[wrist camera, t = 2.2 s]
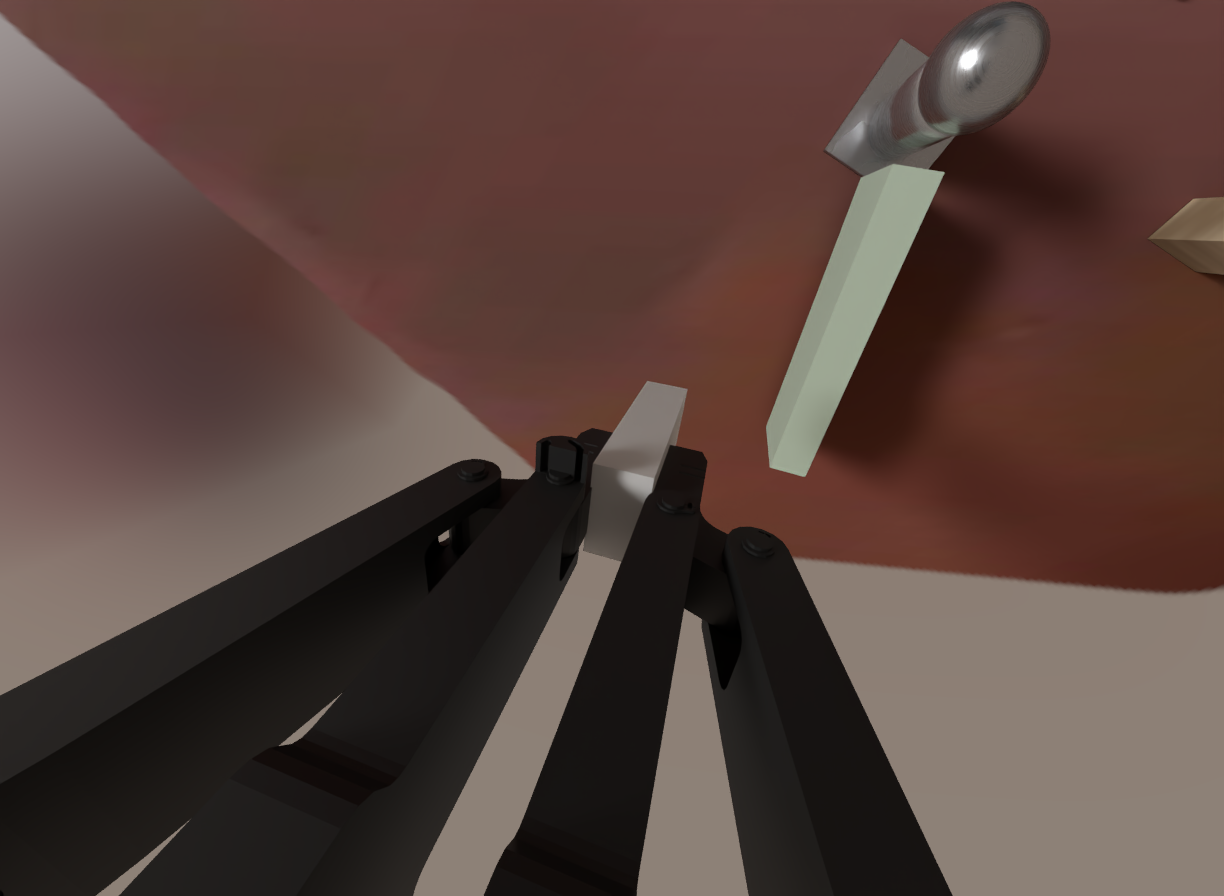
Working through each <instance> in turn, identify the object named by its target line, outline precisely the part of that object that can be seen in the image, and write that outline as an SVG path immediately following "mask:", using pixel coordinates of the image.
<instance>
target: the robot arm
mask: <svg viewBox="0 0 1224 896" xmlns="http://www.w3.org/2000/svg"><path fill="white" fill-rule="evenodd" d="M687 390H688V389H684V388H679V387H674V386H669V385H664V384H660V383H655V382H650V381H647V382H646V384H645V385H644V387H643V388H642V390H641V391H640V393H639V394H638V396H637V397H636V399H635V400H634V402H633V403H632V405H631V406H630V408H629V409H628V411H627V413H626V414H625V416H624V417H623V419H622V420H621V422H620V423H619V425H618V426H617V428H616V429H615V431H614V432H613V433H612V432H607V431H603V430H598V429H594V428H591V429H589V430H587V431H585V432H582V433H581V434H580V435H579V436H578V437H577V438H573V437H567V436H550V437H546V438H542V439H541V440H539V441H538V442H537V443H536V468H535V472H534V473H533V474H532V476H531V477H530V478H529V479H523V480H518V479H501V470H500V468H499V467H498V466H497V465H496V464H494V463H493V462H489V461H486V460H481V459H479V460H478V459H471V460H463V461H460V462H457V463H455V464H452V465H451V466H448V467H446V468H444V469H443V470H441V471H439V472H437V473H435V474H433V475H431V476H429V477H427V478H425V479H423V480H421V481H419V482H417V483H415V484H413V485H411V486H409V487H407V488H405V489H404V490H401V491H400V492H398V493H396V494H394V495H392V496H390V497H388V498H386V499H384V500H382V501H380V502H378V503H376V504H374V505H372V506H370V507H368V508H367V509H364V510H362V511H360V512H358V513H357V514H355V515H353V516H351V517H349V518H347V519H345V520H343V521H341V522H339V523H337V524H335V525H333V526H331V527H329V528H327V529H325V530H323V531H321V532H319V533H318V534H315V535H313V536H312V537H310V538H308V539H306V540H304V541H302V542H300V543H298V544H296V545H294V546H292V547H290V548H288V549H286V550H284V551H282V552H280V553H278V554H276V555H274V556H272V557H270V558H268V559H267V560H265V561H263V562H261V563H259V564H257V565H255V566H253V567H251V568H249V569H247V570H245V571H243V572H241V573H239V574H237V575H235V576H234V577H231V578H229V579H227V580H226V581H223V582H221V583H220V584H218V585H216V586H214V587H212V588H210V589H208V590H206V591H204V592H202V593H200V594H198V595H196V596H194V597H192V598H190V599H188V600H186V601H184V602H182V603H181V604H178V605H176V606H175V607H173V608H171V609H169V610H167V611H165V612H163V613H161V614H159V615H157V616H155V617H153V618H151V619H149V620H147V621H145V622H143V623H141V624H139V625H137V626H136V627H133V628H131V629H130V630H128V631H126V632H124V633H122V634H120V635H118V636H116V637H114V638H112V639H110V640H108V641H106V642H104V643H102V644H100V645H98V646H96V647H95V648H93V649H90V650H88V651H87V652H85V653H83V654H81V655H79V656H77V657H75V658H73V659H71V660H69V661H67V662H65V663H63V664H61V665H59V666H57V667H55V668H54V669H51V670H49V671H47V672H45V673H43V674H42V675H40V676H38V677H36V678H34V679H32V680H30V681H28V682H26V683H24V684H22V685H20V686H18V687H16V688H14V689H12V690H10V691H8V692H6V693H4V694H2V695H0V896H96V895H97V894H98V893H99V892H101V891H102V890H104V889H105V888H106V887H107V886H109V885H110V884H111V883H112V882H113V881H115V880H116V879H118V878H119V877H120V876H121V875H123V874H124V873H125V872H126V871H128V870H129V869H130V868H131V867H133V866H134V865H135V864H137V863H138V862H139V861H140V860H142V859H143V858H144V857H145V856H147V855H148V854H149V853H150V852H151V851H153V850H154V849H155V848H156V847H157V846H159V845H160V844H161V843H162V842H163V841H165V840H166V839H167V838H168V837H169V836H171V835H172V834H173V833H174V832H175V831H177V830H178V829H179V828H180V827H181V826H183V825H184V824H185V823H186V822H187V821H189V820H190V819H191V818H192V819H191V820H190V821H189V822H188V823H187V824H186V825H185V826H184V827H183V828H182V829H181V830H180V831H179V832H178V833H177V834H176V836H175V837H174V838H173V839H172V840H171V841H170V842H169V843H168V844H167V845H166V846H165V847H164V848H163V849H162V850H161V851H160V853H159V854H158V855H157V856H156V857H155V858H154V859H153V860H152V861H151V862H150V863H149V864H148V865H147V866H146V867H145V868H144V870H143V871H142V872H141V873H140V874H139V875H138V876H137V877H136V878H135V879H134V880H133V881H132V883H131V884H129V885H128V887H127V888H126V889H125V890H124V891H123V892H122V893H121V894H120V895H119V896H413V894H414V890H415V886H416V884H417V882H418V878H419V876H420V874H421V872H422V869H423V867H424V865H425V863H426V861H427V859H428V857H429V855H430V853H431V851H432V849H433V847H434V845H435V843H436V841H437V839H438V837H439V835H440V833H441V831H442V829H443V827H444V825H445V823H446V821H447V819H448V817H449V816H450V813H451V811H452V810H453V808H454V806H455V804H456V802H457V800H458V798H459V796H460V794H461V792H462V790H463V788H464V786H465V784H466V782H467V780H468V778H469V776H470V774H471V772H472V770H473V768H474V766H475V764H476V762H477V760H478V758H479V756H480V754H481V752H482V750H483V748H484V746H485V744H486V742H487V740H488V738H489V736H490V734H491V732H492V730H493V728H494V726H495V724H496V723H497V721H498V718H499V717H500V715H501V712H502V711H503V709H504V707H505V705H506V703H507V701H508V699H509V697H510V695H511V693H512V691H513V689H514V687H515V685H516V683H517V681H518V679H519V677H520V675H521V673H522V671H523V669H524V667H525V665H526V663H527V661H528V659H529V657H530V655H531V653H532V651H533V649H534V647H535V645H536V643H537V641H538V639H539V637H540V635H541V633H542V631H543V629H544V628H545V626H546V624H547V622H548V620H549V618H550V616H551V614H552V612H553V610H554V608H555V606H556V604H557V601H558V600H559V598H560V596H561V594H562V592H563V590H564V588H565V586H566V584H567V582H568V580H569V578H570V576H571V574H572V572H573V570H574V568H575V566H576V564H577V560H578V552H579V546H580V545H581V543H582V541H583V539H584V537H585V540H584V548H583V551H586V552H589V553H593V554H596V555H600V556H604V557H607V558H610V559H614V560H617V561H621V564H620V567H619V570H618V572H617V575H616V578H615V580H614V583H613V586H612V588H611V591H610V593H609V596H608V598H607V601H606V604H605V606H604V609H603V611H602V614H601V617H600V620H599V622H598V625H597V627H596V630H595V632H594V635H593V638H592V640H591V643H590V645H589V648H588V651H587V654H586V656H585V658H584V661H583V664H582V666H581V669H580V672H579V674H578V677H577V679H576V682H575V685H574V687H573V690H572V693H571V695H570V698H569V700H568V703H567V706H566V708H565V711H564V714H563V716H562V719H561V721H560V724H559V727H558V729H557V732H556V735H555V737H554V739H553V742H552V745H551V747H550V750H549V753H548V755H547V758H546V760H545V763H544V766H543V768H542V771H541V773H540V776H539V779H538V781H537V784H536V787H535V789H534V792H533V795H532V797H531V800H530V802H529V805H528V808H527V810H526V813H525V815H524V818H523V820H522V823H521V825H520V828H519V829H518V832H517V833H516V835H515V837H514V839H513V840H512V841H511V842H510V844H509V845H508V846H507V847H506V848H505V850H504V852H503V854H502V856H501V858H500V860H499V862H498V864H497V865H496V868H495V870H494V872H493V875H492V877H491V879H490V882H489V884H488V886H487V889H486V891H485V894H484V896H637V884H638V876H639V869H640V864H641V857H642V852H643V846H644V840H645V834H646V828H647V823H648V817H649V811H650V805H651V799H652V793H653V787H654V782H655V776H656V770H657V764H658V758H659V752H660V746H661V740H662V734H663V729H664V723H665V717H666V711H667V705H668V699H669V694H670V688H671V681H672V675H673V670H674V664H675V658H676V653H677V647H678V640H679V635H680V629H681V623H682V617H683V612H684V609H686V610H688V611H690V612H691V613H693V614H694V615H696V616H698V617H699V618H701V619H702V632H703V638H704V643H705V649H706V655H707V661H708V666H709V671H710V678H711V683H712V689H713V695H714V700H715V706H716V712H717V717H718V723H719V729H720V734H721V740H722V746H723V752H724V757H725V763H726V768H727V774H728V780H729V786H730V791H731V797H732V803H733V808H734V814H735V820H736V826H737V831H738V836H739V843H740V848H741V854H742V859H743V865H744V871H745V876H746V883H747V888H748V894H749V896H952V893H951V892H950V889H949V887H948V885H947V883H946V881H945V879H944V877H943V874H942V872H941V870H940V868H939V866H938V864H937V862H936V860H935V858H934V855H933V853H932V851H931V849H930V847H929V845H928V843H927V841H926V839H925V837H924V834H923V832H922V830H921V829H920V826H919V824H918V822H917V820H916V818H915V815H914V813H913V811H912V809H911V807H910V805H909V803H908V801H907V799H906V797H905V794H904V792H903V790H902V788H901V786H900V784H899V782H898V780H897V778H896V776H895V773H894V771H893V769H892V767H891V765H890V763H889V761H888V759H887V757H886V754H885V753H884V750H883V748H882V746H881V744H880V742H879V740H878V738H877V735H876V734H875V731H874V729H873V727H872V725H871V723H870V721H869V719H868V716H867V714H866V712H865V710H864V708H863V706H862V704H861V702H860V700H859V697H858V695H857V693H856V691H855V689H854V687H853V685H852V683H851V681H850V679H849V676H848V675H847V672H846V670H845V668H844V666H843V664H842V662H841V660H840V657H839V655H838V653H837V651H836V649H835V647H834V645H833V643H832V641H831V638H830V636H829V634H828V632H827V630H826V628H825V626H824V624H823V622H822V619H821V617H820V615H819V613H818V611H817V609H816V607H815V605H814V603H813V600H812V598H811V596H810V594H809V592H808V590H807V588H806V586H805V584H804V582H803V579H802V577H801V575H800V573H799V571H798V569H797V567H796V565H795V563H794V560H793V558H792V556H791V554H790V552H789V550H788V548H787V547H786V546H785V544H784V543H783V542H782V541H781V540H780V539H778V538H777V537H776V536H774V535H773V534H771V533H769V532H767V531H765V530H762V529H758V528H754V527H738V528H736V529H733V530H732V531H731V532H730V533H729V534H726V533H724V532H722V531H720V530H719V529H717V528H715V527H713V526H712V525H711V524H709V523H708V522H707V521H706V520H705V519H704V517H703V516H702V514H701V512H700V502H701V497H702V491H703V485H704V479H705V473H706V467H707V460H706V458H705V456H704V454H703V453H702V452H700V451H695V450H691V449H687V448H682V447H678V446H676V442H677V437H678V432H679V428H680V423H681V418H682V413H683V409H684V404H685V399H686V394H687ZM447 530H449V538H447V539H446V540H444V541H442V542H440V543H439V541H438V536H440V535H441V534H443V533H444V532H446V531H447ZM341 693H342V694H341ZM340 694H341V695H340ZM339 695H340V696H339ZM338 696H339V697H338ZM337 697H338V699H337V700H336V701H335V702H334V703H333V704H332V706H331V707H330V708H329V709H328V710H327V711H326V713H325V714H324V715H323V716H322V717H321V718H320V719H319V720H318V722H317V723H316V724H315V725H314V726H313V727H312V728H311V729H310V730H309V731H308V732H307V733H306V734H305V735H304V736H303V737H302V738H301V739H299V740H298V741H296V742H294V743H293V744H289V745H283V746H279V745H280V744H281V743H282V742H284V741H285V740H286V739H287V738H288V737H290V736H291V735H292V734H293V733H294V732H296V731H297V730H298V729H299V728H300V727H302V726H303V725H304V724H305V723H306V722H308V721H309V720H310V719H311V718H312V717H314V716H315V715H316V714H317V713H318V712H320V711H321V710H322V709H323V708H324V707H326V706H327V705H328V704H329V703H330V702H332V701H333V700H334V699H335V698H337Z"/></svg>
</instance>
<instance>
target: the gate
mask: <svg viewBox="0 0 1224 896" xmlns="http://www.w3.org/2000/svg"><path fill="white" fill-rule="evenodd" d="M944 173H945V172H940V171H934V170H928V169H922V168H916V167H909V166H903V165H897V164H892V165H889V166H887V167H885V168H882V169H880V170H878V171H875V172H873V173H871V174H869V175H866V176H864V177H862V178H861V179H860V182H859V184H858V187H857V189H856V192H855V195H854V197H853V200H852V203H851V205H850V208H849V210H848V213H847V216H846V218H845V221H844V224H843V226H842V229H841V231H840V234H839V237H838V239H837V242H836V245H835V247H834V250H833V252H832V255H831V258H830V260H829V263H828V266H827V268H826V271H825V274H824V276H823V279H822V281H821V284H820V287H819V289H818V292H817V295H816V297H815V300H814V302H813V305H812V308H811V310H810V313H809V316H808V318H807V321H806V323H805V326H804V329H803V331H802V334H801V337H800V339H799V342H798V344H797V347H796V350H795V352H794V355H793V358H792V360H791V363H790V365H789V368H788V371H787V373H786V376H785V379H784V381H783V384H782V386H781V389H780V392H779V394H778V397H777V400H776V402H775V405H774V407H773V410H772V413H771V415H770V418H769V421H768V423H767V426H766V430H767V441H768V452H769V463H770V468H774V469H778V470H781V471H785V472H788V473H792V474H796V475H799V476H803V477H805V476H806V474H807V472H808V469H809V467H810V465H811V463H812V461H813V459H814V456H815V454H816V452H817V450H818V448H819V445H820V443H821V441H822V439H823V437H824V435H825V432H826V430H827V428H828V426H829V424H830V421H831V419H832V417H833V415H834V413H835V411H836V408H837V406H838V404H839V402H840V400H841V397H842V395H843V393H844V391H845V389H846V387H847V384H848V382H849V380H850V378H851V376H852V373H853V371H854V369H855V367H856V365H857V363H858V360H859V358H860V356H861V354H862V352H863V350H864V347H865V345H866V343H867V341H868V339H869V336H870V334H871V332H872V330H873V328H874V326H875V323H876V321H877V319H878V317H879V315H880V312H881V310H882V308H883V306H884V304H885V302H886V299H887V297H888V295H889V293H890V291H891V288H892V286H893V284H894V282H895V280H896V278H897V275H898V273H899V271H900V269H901V267H902V264H903V262H904V260H905V258H906V256H907V254H908V251H909V249H910V247H911V245H912V243H913V240H914V238H915V236H916V234H917V232H918V230H919V227H920V225H921V223H922V221H923V219H924V217H925V214H926V212H927V210H928V208H929V206H930V203H931V201H932V199H933V197H934V195H935V193H936V190H937V188H938V186H939V184H940V182H941V179H942V177H943V175H944Z"/></svg>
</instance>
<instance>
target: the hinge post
mask: <svg viewBox="0 0 1224 896" xmlns="http://www.w3.org/2000/svg"><path fill="white" fill-rule="evenodd" d="M1049 50H1050V31H1049V27H1048V24H1047V22H1046V20H1045V18H1044V16H1043V15H1042V14H1041V13H1040V12H1039V11H1038V10H1037V9H1036V8H1034V7H1033V6H1031V5H1029V4H1025V3H1021V2H1002V3H996V4H993V5H990V6H987V7H985V8H983V9H980V10H978V11H976V12H974V13H973V14H971V15H969V16H968V17H966V18H965V19H964V20H962V21H961V22H960V23H958V24H957V25H956V26H955V27H954V28H952V29H951V30H950V31H949V32H948V33H947V34H946V35H945V36H944V38H943V39H942V40H941V41H940V43H939V44H938V45H937V46H936V48H935V49H934V51H933V52H932V54H931V55H930V57H927V56H926V55H924V54H923V53H921V52H920V51H918V50H917V49H916V48H914V47H913V46H911V45H910V44H908V43H907V42H905V41H904V40H902V39H900V40H899V42H898V43H897V44H896V46H895V47H894V49H893V50H892V51H891V53H890V54H889V56H888V57H887V59H886V60H885V62H884V63H883V65H882V66H881V68H880V69H879V70H878V72H877V73H876V75H875V76H874V78H873V79H872V81H871V82H870V84H869V85H868V87H867V88H866V89H865V91H864V92H863V94H862V95H861V97H860V98H859V100H858V101H857V103H856V104H855V106H854V107H853V108H852V110H851V111H850V113H849V114H848V116H847V117H846V119H845V120H844V122H843V123H842V125H841V126H840V127H839V129H838V130H837V132H836V133H835V135H834V136H833V138H832V139H831V141H830V142H829V144H828V145H827V146H826V148H825V149H824V152H825V153H827V154H828V155H829V156H831V157H832V158H834V159H835V160H837V161H838V162H840V163H841V164H843V165H844V166H846V167H847V168H849V169H850V170H852V171H853V172H855V173H856V174H857V175H859V176H860V177H864V176H866V175H869V174H871V173H873V172H875V171H878V170H880V169H882V168H885V167H887V166H889V165H892V164H897V165H903V166H909V167H916V168H922V169H929V168H930V166H931V165H932V164H933V163H934V162H935V160H936V159H937V158H938V157H939V155H940V154H941V153H942V152H943V150H944V149H945V148H946V147H947V146H948V144H949V143H950V142H951V141H952V139H953V138H954V137H955V136H956V135H966V134H970V133H974V132H978V131H980V130H983V129H985V128H988V127H990V126H992V125H993V124H995V123H997V122H998V121H1000V120H1002V119H1003V118H1004V117H1006V116H1007V115H1008V114H1010V113H1011V112H1012V111H1013V110H1014V109H1015V108H1016V107H1018V106H1019V105H1020V104H1021V102H1022V101H1023V100H1024V99H1025V98H1026V97H1027V96H1028V95H1029V93H1030V92H1031V91H1032V89H1033V88H1034V86H1035V85H1036V83H1037V82H1038V80H1039V78H1040V76H1041V74H1042V72H1043V70H1044V68H1045V65H1046V62H1047V59H1048V55H1049Z"/></svg>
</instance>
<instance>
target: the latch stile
mask: <svg viewBox="0 0 1224 896" xmlns="http://www.w3.org/2000/svg"><path fill="white" fill-rule="evenodd" d="M1148 239H1149V240H1150V241H1152V242H1153V243H1154V244H1156V245H1157V246H1159V247H1160V248H1162V249H1163V250H1165V251H1166V252H1168V253H1169V254H1170V255H1172V256H1173V257H1175V258H1176V259H1178V260H1179V261H1181V262H1182V263H1184V264H1185V265H1187V266H1188V267H1189V268H1191V269H1192V270H1194V271H1195V272H1202V273H1212V274H1222V275H1224V197H1217V198H1200V199H1193V200H1192V201H1190V202H1189V203H1188V204H1187V205H1186V206H1185V207H1184V208H1182V209H1181V210H1180V211H1179V212H1178V213H1177V214H1175V215H1174V216H1173V217H1172V218H1171V219H1170V220H1169V221H1167V222H1166V223H1165V224H1164V225H1163V226H1162V227H1160V228H1159V229H1158V230H1157V231H1156V232H1155V233H1154V234H1152V235H1151V236H1150V237H1149V238H1148Z"/></svg>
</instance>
